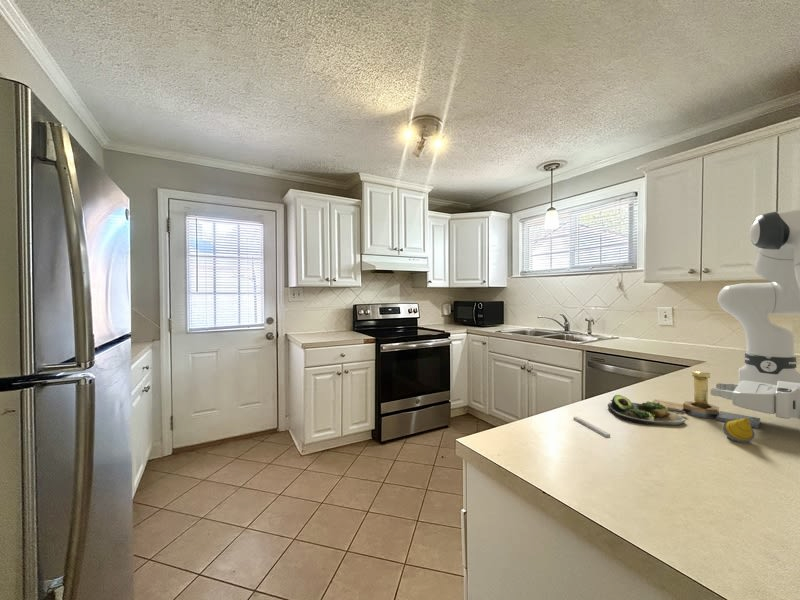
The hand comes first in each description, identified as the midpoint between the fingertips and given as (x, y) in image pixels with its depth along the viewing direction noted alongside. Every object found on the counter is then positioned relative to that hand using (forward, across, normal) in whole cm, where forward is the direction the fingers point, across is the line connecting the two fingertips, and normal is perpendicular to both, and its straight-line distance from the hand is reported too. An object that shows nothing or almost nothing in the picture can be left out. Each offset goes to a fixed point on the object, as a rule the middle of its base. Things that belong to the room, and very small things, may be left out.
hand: (713, 388), depth 96 cm
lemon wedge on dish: (-7, +18, +8) cm, 21 cm away
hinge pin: (+3, 0, +8) cm, 8 cm away
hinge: (+3, 0, +8) cm, 8 cm away
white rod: (+20, +35, +9) cm, 41 cm away
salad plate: (+14, +14, +9) cm, 21 cm away
